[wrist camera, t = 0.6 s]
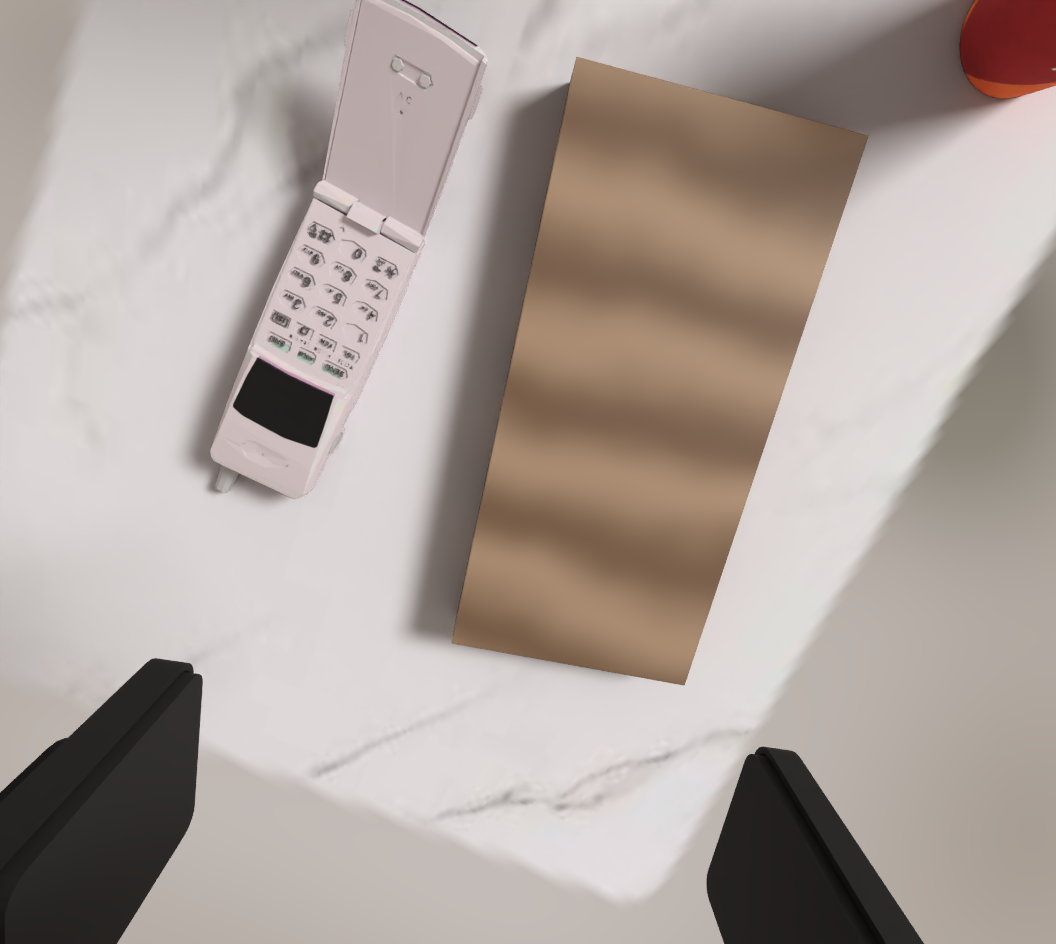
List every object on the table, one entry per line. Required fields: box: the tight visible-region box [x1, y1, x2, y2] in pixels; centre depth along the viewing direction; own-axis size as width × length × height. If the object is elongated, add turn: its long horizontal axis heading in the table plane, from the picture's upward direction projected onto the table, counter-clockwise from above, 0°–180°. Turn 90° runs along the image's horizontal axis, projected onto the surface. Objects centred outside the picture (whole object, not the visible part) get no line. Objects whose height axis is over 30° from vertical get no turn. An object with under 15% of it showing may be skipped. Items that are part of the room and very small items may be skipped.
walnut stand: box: [452, 57, 868, 685], centre depth 32 cm, size 30×14×3 cm, turn 168°
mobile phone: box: [210, 0, 488, 499], centre depth 29 cm, size 6×6×25 cm
